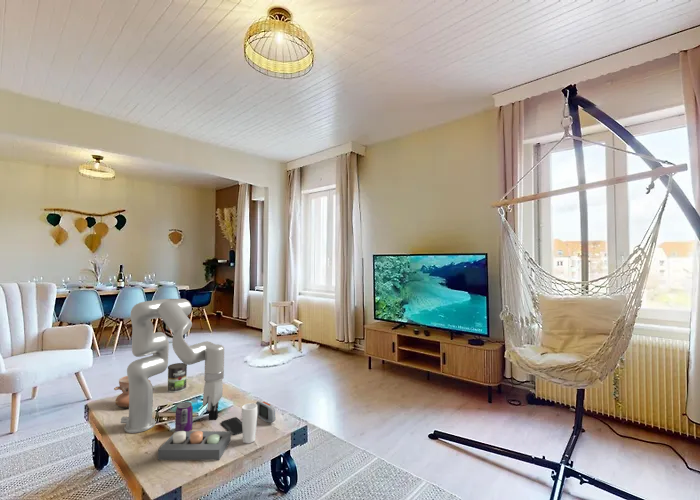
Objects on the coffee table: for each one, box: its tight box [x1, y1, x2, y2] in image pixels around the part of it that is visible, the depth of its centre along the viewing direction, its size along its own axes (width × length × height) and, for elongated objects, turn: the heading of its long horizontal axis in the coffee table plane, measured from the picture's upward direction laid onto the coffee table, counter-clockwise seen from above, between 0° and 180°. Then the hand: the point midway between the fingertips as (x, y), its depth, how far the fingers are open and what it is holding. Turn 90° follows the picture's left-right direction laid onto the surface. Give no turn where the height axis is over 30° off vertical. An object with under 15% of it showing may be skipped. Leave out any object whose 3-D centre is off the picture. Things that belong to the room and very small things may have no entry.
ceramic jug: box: [113, 375, 152, 408], centre depth 184 cm, size 18×14×14 cm
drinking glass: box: [240, 402, 258, 444], centre depth 150 cm, size 7×7×15 cm
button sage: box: [207, 434, 220, 444], centre depth 142 cm, size 5×5×4 cm
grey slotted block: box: [157, 430, 232, 461], centre depth 142 cm, size 24×14×4 cm, turn 91°
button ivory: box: [172, 431, 186, 444], centre depth 142 cm, size 5×5×4 cm
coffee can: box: [167, 362, 188, 393], centre depth 204 cm, size 10×10×14 cm
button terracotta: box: [190, 430, 203, 444], centre depth 142 cm, size 5×5×4 cm
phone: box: [220, 416, 243, 436], centre depth 161 cm, size 8×1×15 cm
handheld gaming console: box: [255, 400, 276, 423], centre depth 169 cm, size 14×3×8 cm, turn 49°
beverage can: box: [174, 401, 194, 432], centre depth 157 cm, size 7×7×12 cm
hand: (213, 419), depth 142 cm, fingers closed
